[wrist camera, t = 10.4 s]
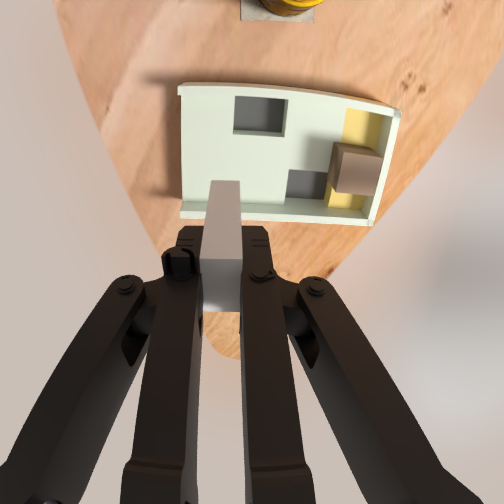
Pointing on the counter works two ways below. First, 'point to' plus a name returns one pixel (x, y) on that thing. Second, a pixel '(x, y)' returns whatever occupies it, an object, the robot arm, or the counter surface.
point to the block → (354, 169)
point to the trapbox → (279, 149)
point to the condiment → (279, 10)
